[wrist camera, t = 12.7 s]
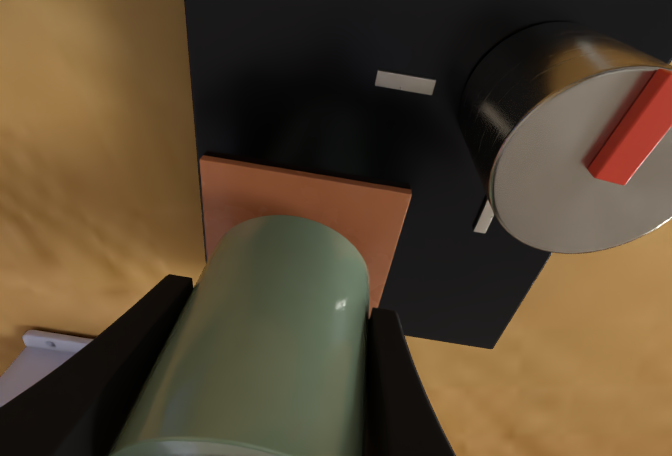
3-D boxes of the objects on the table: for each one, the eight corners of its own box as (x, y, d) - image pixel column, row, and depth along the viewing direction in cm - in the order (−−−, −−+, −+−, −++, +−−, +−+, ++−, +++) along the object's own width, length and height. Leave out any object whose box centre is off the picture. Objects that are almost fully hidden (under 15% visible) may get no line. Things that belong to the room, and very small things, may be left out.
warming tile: (213, 298, 15) (210, 304, 15) (202, 154, 11) (199, 159, 11) (371, 323, 15) (371, 330, 15) (411, 189, 11) (412, 194, 11)
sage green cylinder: (216, 314, 14) (126, 527, 9) (208, 197, 11) (67, 418, 6) (355, 337, 14) (342, 559, 9) (385, 226, 11) (389, 469, 6)
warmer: (228, 261, 17) (207, 308, 15) (213, -162, 9) (162, -189, 7) (511, 307, 17) (529, 359, 15) (738, -70, 9) (843, -68, 7)
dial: (563, 184, 11) (635, 283, 8) (436, 151, 11) (459, 241, 8) (657, 45, 9) (806, 108, 6) (500, 1, 8) (569, 41, 5)
